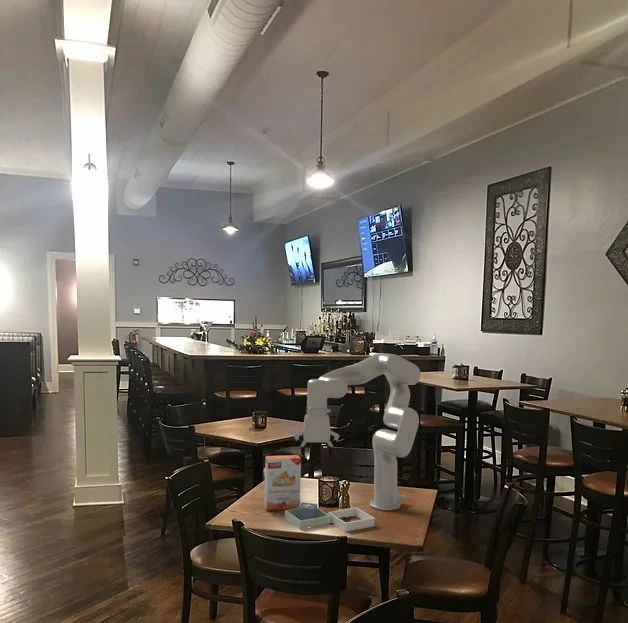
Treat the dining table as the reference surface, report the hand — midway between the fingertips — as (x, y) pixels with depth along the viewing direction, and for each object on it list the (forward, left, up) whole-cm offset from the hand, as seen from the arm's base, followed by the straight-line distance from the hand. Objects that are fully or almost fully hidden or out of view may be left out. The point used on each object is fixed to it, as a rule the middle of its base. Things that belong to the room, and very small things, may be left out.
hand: (316, 456), depth 210 cm
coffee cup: (+1, -36, -25) cm, 44 cm away
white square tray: (-12, +6, -25) cm, 29 cm away
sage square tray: (+2, -3, -25) cm, 25 cm away
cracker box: (+4, -21, -25) cm, 33 cm away
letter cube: (+2, -3, -25) cm, 25 cm away
